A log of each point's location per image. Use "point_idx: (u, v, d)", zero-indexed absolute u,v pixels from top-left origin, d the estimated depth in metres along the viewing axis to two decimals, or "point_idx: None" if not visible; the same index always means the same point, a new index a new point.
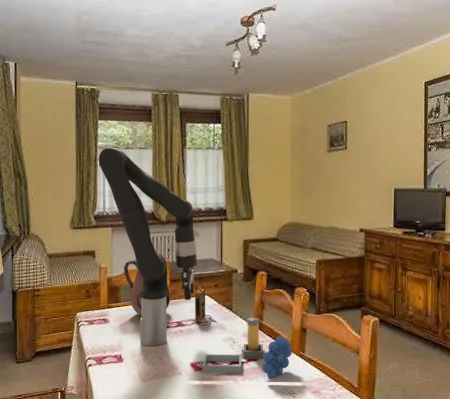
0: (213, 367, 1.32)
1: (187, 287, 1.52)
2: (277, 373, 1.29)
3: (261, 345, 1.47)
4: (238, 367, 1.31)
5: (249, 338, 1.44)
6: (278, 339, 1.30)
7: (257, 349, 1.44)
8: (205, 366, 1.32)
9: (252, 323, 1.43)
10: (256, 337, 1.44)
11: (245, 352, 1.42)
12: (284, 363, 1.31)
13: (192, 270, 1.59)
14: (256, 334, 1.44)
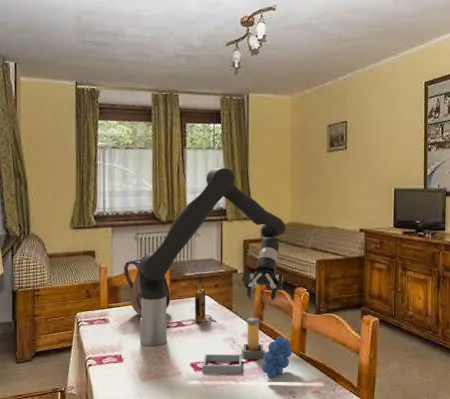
0: (213, 367, 1.32)
1: (281, 288, 1.57)
2: (277, 373, 1.29)
3: (261, 345, 1.47)
4: (238, 367, 1.31)
5: (249, 338, 1.44)
6: (278, 339, 1.30)
7: (257, 349, 1.44)
8: (205, 366, 1.32)
9: (252, 323, 1.43)
10: (256, 337, 1.44)
11: (245, 352, 1.42)
12: (284, 363, 1.31)
13: None
14: (256, 334, 1.44)
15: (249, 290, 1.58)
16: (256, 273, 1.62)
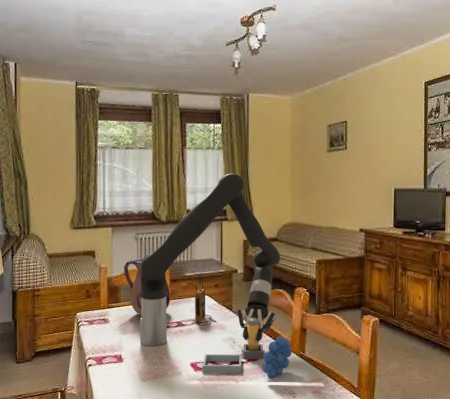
0: (213, 367, 1.32)
1: (268, 328, 1.45)
2: (277, 373, 1.29)
3: (261, 345, 1.47)
4: (238, 367, 1.31)
5: (249, 338, 1.44)
6: (278, 339, 1.30)
7: (257, 349, 1.44)
8: (205, 366, 1.32)
9: (252, 323, 1.43)
10: (256, 337, 1.44)
11: (245, 352, 1.42)
12: (284, 363, 1.31)
13: None
14: (256, 334, 1.44)
15: (245, 331, 1.45)
16: (247, 308, 1.51)
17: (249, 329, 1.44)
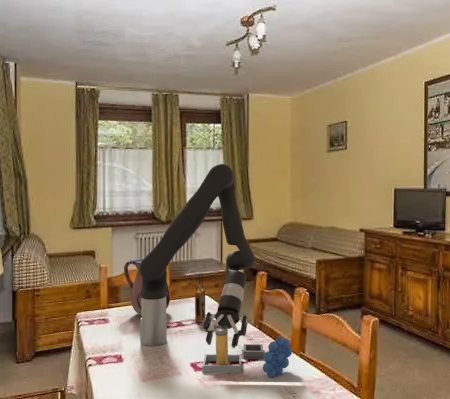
0: (213, 367, 1.32)
1: (245, 333, 1.36)
2: (277, 373, 1.29)
3: (261, 345, 1.47)
4: (238, 367, 1.31)
5: (217, 350, 1.34)
6: (278, 339, 1.30)
7: (226, 361, 1.35)
8: (205, 366, 1.32)
9: (220, 334, 1.34)
10: (225, 349, 1.34)
11: (245, 352, 1.42)
12: (284, 363, 1.31)
13: None
14: (225, 345, 1.34)
15: (208, 335, 1.36)
16: (217, 314, 1.41)
17: (217, 340, 1.34)
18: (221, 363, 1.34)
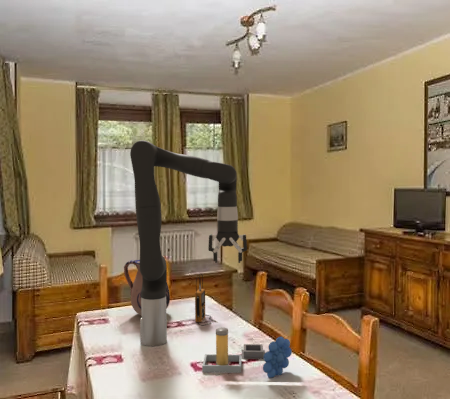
0: (213, 367, 1.32)
1: None
2: (277, 373, 1.29)
3: (261, 345, 1.47)
4: (238, 367, 1.31)
5: (217, 350, 1.35)
6: (278, 339, 1.30)
7: (226, 361, 1.35)
8: (205, 366, 1.32)
9: (220, 334, 1.34)
10: (225, 349, 1.34)
11: (245, 352, 1.42)
12: (284, 363, 1.31)
13: None
14: (225, 345, 1.34)
15: (215, 256, 1.56)
16: (219, 236, 1.56)
17: (217, 340, 1.34)
18: (221, 363, 1.34)
